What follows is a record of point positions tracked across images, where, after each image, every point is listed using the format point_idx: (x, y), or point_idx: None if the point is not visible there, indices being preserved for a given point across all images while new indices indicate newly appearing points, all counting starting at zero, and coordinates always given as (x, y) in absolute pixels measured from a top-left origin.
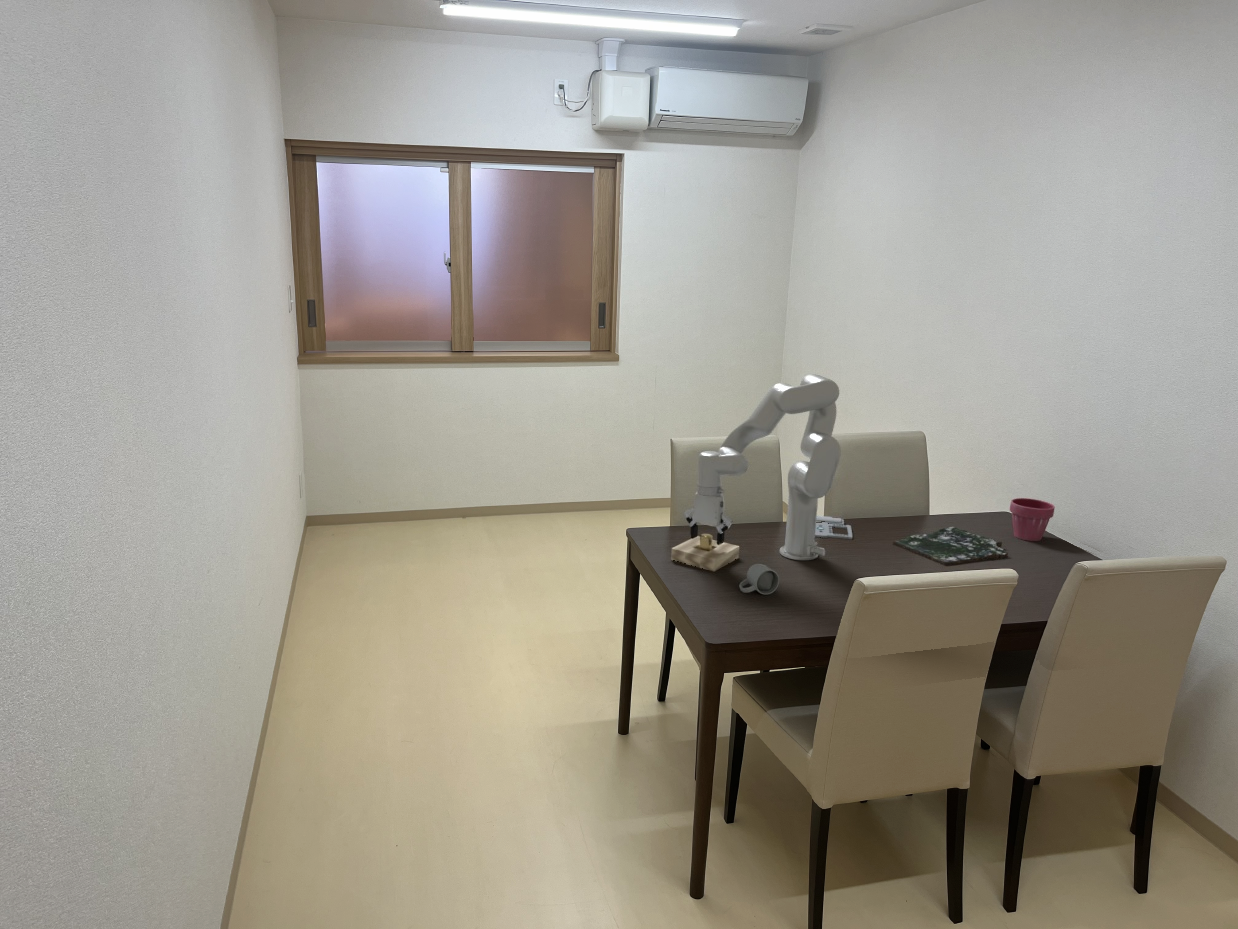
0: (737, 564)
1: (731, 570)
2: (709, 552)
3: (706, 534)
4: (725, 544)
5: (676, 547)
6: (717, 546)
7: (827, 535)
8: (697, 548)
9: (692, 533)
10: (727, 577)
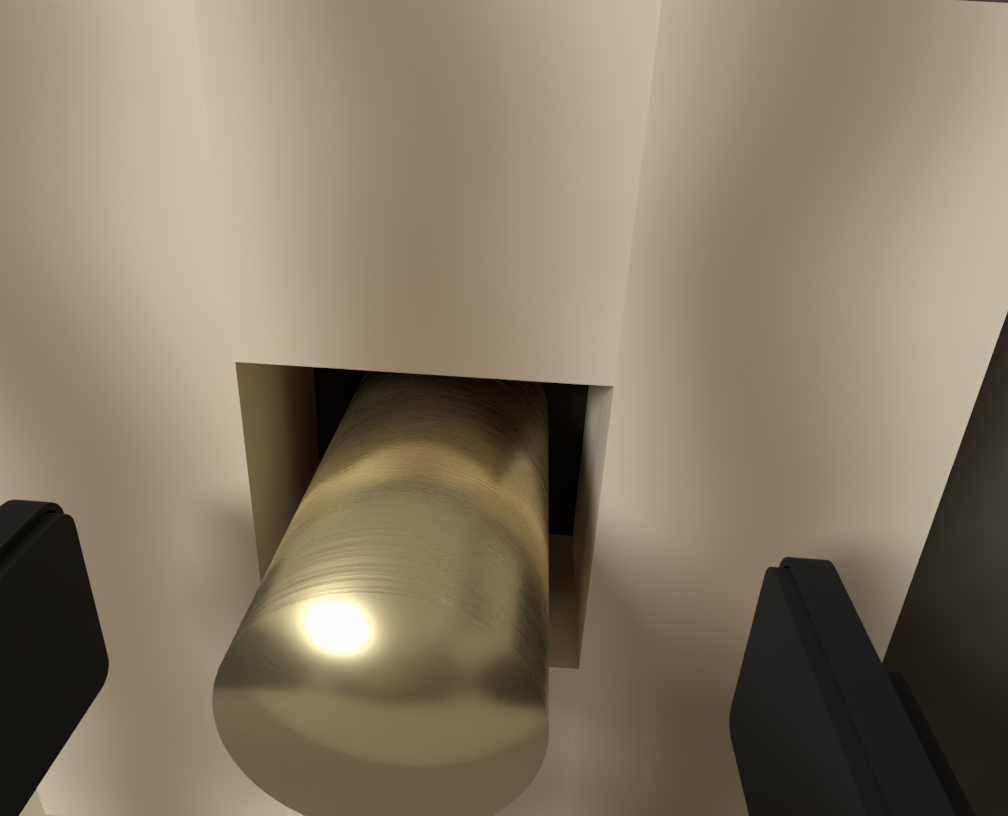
0: (1003, 338)
1: (962, 585)
2: (609, 697)
3: (324, 657)
4: (718, 120)
5: (63, 760)
6: (601, 359)
7: None
8: (273, 507)
9: (26, 781)
10: (964, 773)
